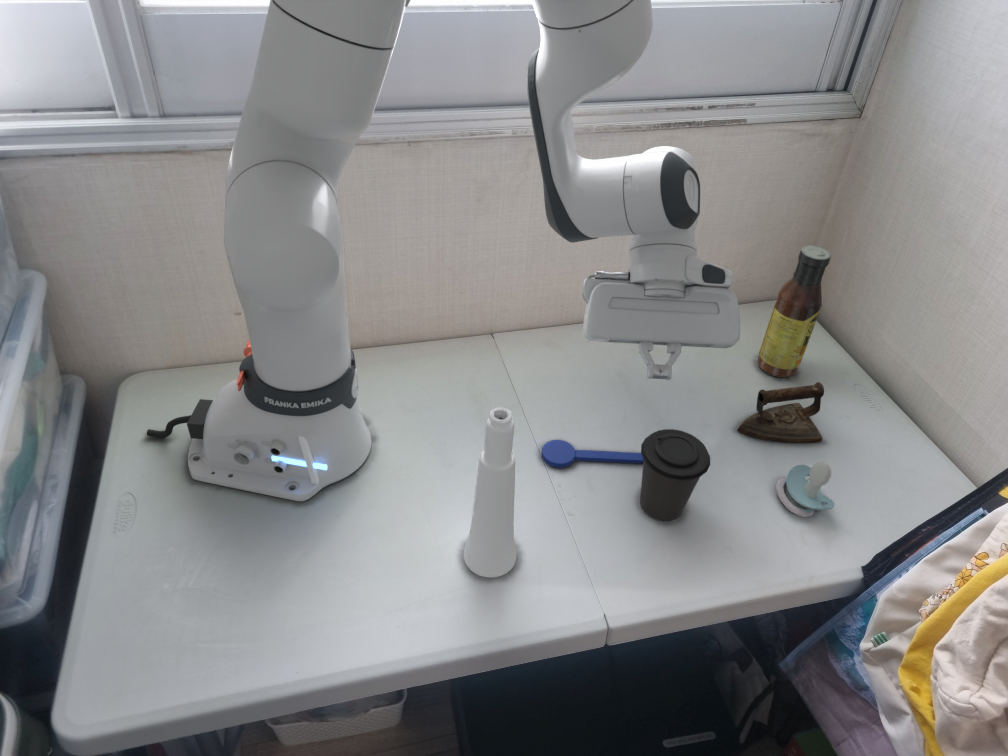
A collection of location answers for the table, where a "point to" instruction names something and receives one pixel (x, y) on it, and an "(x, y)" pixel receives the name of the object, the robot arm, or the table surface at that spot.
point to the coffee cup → (670, 472)
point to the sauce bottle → (794, 315)
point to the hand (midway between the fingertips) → (659, 378)
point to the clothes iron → (785, 416)
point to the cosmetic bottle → (494, 501)
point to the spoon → (582, 455)
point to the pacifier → (806, 488)
